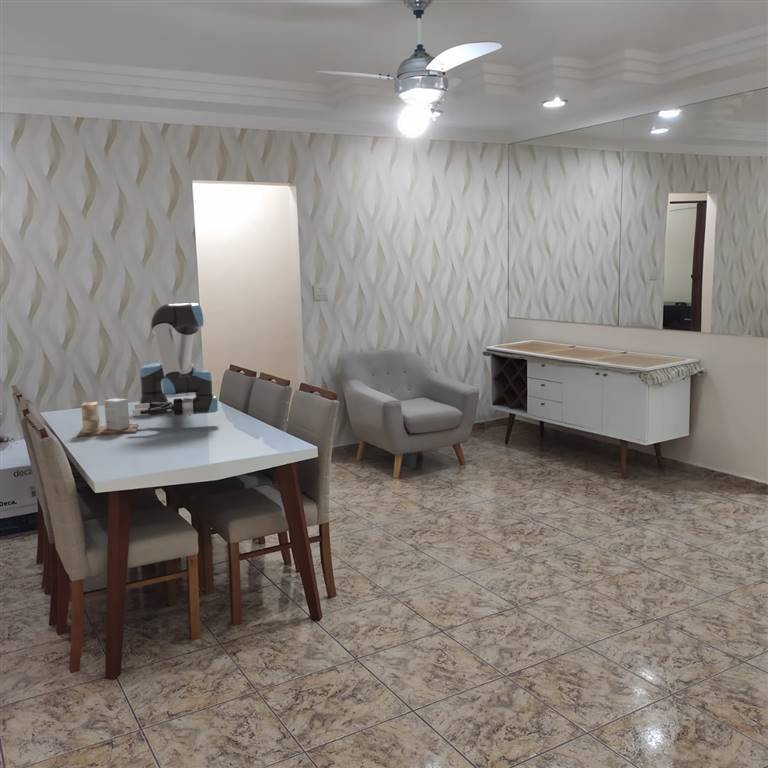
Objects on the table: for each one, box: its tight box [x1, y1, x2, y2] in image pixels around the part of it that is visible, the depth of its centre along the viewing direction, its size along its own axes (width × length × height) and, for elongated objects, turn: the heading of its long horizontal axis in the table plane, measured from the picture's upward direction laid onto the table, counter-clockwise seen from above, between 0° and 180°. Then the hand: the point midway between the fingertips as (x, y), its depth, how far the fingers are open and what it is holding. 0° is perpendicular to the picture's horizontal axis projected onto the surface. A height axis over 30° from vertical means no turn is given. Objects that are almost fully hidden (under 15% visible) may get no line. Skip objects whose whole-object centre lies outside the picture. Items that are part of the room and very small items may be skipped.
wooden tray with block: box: [77, 401, 139, 438], centre depth 332 cm, size 24×16×13 cm, turn 105°
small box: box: [103, 398, 131, 430], centre depth 333 cm, size 8×6×13 cm
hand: (133, 409), depth 335 cm, fingers open, 13 cm apart
